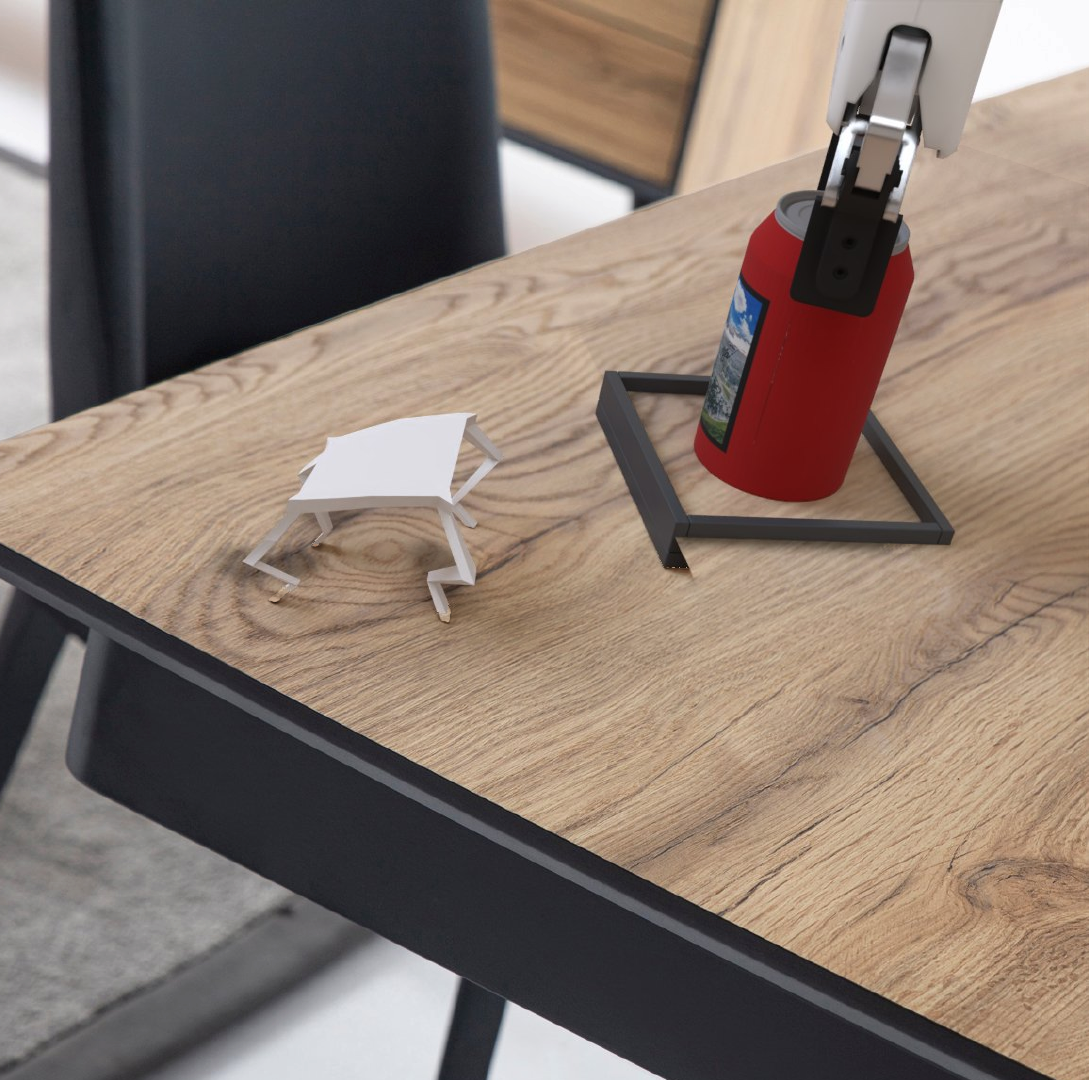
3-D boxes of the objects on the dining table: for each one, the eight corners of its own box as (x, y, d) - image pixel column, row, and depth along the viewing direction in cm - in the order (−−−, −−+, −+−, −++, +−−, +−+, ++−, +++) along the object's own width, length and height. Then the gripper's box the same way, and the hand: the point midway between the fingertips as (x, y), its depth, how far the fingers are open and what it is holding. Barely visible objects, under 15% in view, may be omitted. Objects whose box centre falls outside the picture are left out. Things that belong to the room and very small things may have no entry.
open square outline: (838, 425, 78) (852, 382, 77) (938, 576, 69) (956, 530, 67) (594, 413, 75) (604, 369, 74) (663, 568, 66) (676, 521, 65)
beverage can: (724, 418, 75) (795, 168, 68) (860, 473, 73) (950, 222, 66) (663, 475, 70) (733, 213, 63) (807, 537, 68) (897, 272, 61)
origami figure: (431, 680, 58) (452, 568, 55) (227, 598, 60) (236, 486, 57) (551, 526, 67) (574, 423, 64) (370, 460, 69) (384, 357, 66)
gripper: (1102, -139, 48) (923, 374, 58) (1084, -231, 61) (941, 200, 72) (849, -189, 49) (718, 324, 59) (885, -269, 62) (773, 162, 73)
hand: (840, 256), depth 66 cm, fingers open, 9 cm apart
